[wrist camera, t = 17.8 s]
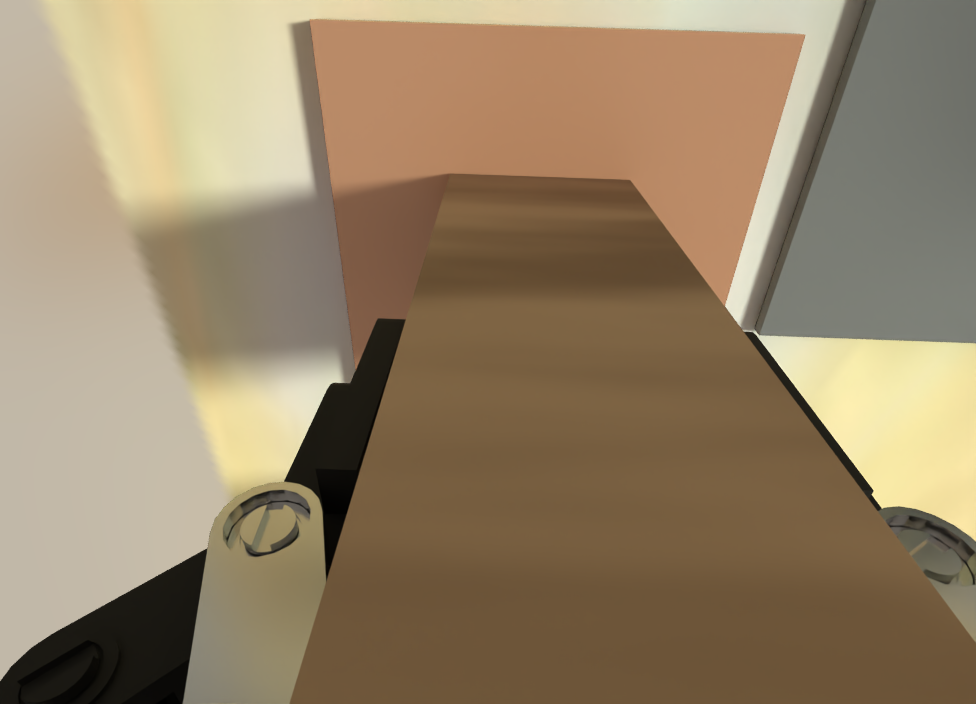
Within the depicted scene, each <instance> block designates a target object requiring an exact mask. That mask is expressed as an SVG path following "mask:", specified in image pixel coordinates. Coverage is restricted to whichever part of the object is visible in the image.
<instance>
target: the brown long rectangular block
mask: <svg viewBox="0 0 976 704" xmlns="http://www.w3.org/2000/svg"><path fill="white" fill-rule="evenodd" d="M289 704H976V642H975V641H974V640H973V638H972V637H971V636H970V634H969V633H968V632H967V630H966V629H965V628H964V626H963V625H962V624H961V622H960V621H959V620H958V618H957V617H956V615H955V614H954V613H953V611H952V610H951V609H950V607H949V606H948V605H947V603H946V602H945V601H944V599H943V598H942V597H941V595H940V594H939V593H938V591H937V590H936V589H935V587H934V586H933V585H932V583H931V582H930V581H929V579H928V578H927V577H926V575H925V574H924V573H923V571H922V570H921V569H920V567H919V566H918V565H917V563H916V562H915V561H914V559H913V558H912V557H911V555H910V554H909V553H908V551H907V550H906V549H905V547H904V546H903V545H902V543H901V542H900V541H899V539H898V538H897V536H896V535H895V534H894V532H893V531H892V530H891V528H890V527H889V526H888V524H887V523H886V522H885V520H884V519H883V518H882V516H881V515H880V514H879V512H878V511H877V510H876V508H875V507H874V506H873V504H872V503H871V502H870V500H869V499H868V498H867V496H866V495H865V494H864V492H863V491H862V490H861V488H860V487H859V486H858V484H857V483H856V482H855V480H854V479H853V478H852V476H851V475H850V474H849V472H848V471H847V470H846V468H845V467H844V466H843V464H842V463H841V461H840V460H839V459H838V457H837V456H836V455H835V453H834V452H833V451H832V449H831V448H830V447H829V445H828V444H827V443H826V441H825V440H824V439H823V437H822V436H821V435H820V433H819V432H818V431H817V429H816V428H815V427H814V425H813V424H812V423H811V421H810V420H809V419H808V417H807V416H806V415H805V413H804V412H803V411H802V409H801V408H800V407H799V405H798V404H797V403H796V401H795V400H794V399H793V397H792V396H791V395H790V393H789V392H788V391H787V389H786V388H785V387H784V385H783V384H782V382H781V381H780V380H779V378H778V377H777V376H776V374H775V373H774V372H773V370H772V369H771V368H770V366H769V365H768V364H767V362H766V361H765V360H764V358H763V357H762V356H761V354H760V353H759V352H758V350H757V349H756V348H755V346H754V345H753V344H752V342H751V341H750V340H749V338H748V337H747V336H746V334H745V333H744V332H743V330H742V329H741V328H740V326H739V325H738V324H737V322H736V321H735V320H734V318H733V317H732V316H731V314H730V313H729V312H728V310H727V309H726V307H725V306H724V305H723V303H722V302H721V301H720V299H719V298H718V297H717V295H716V294H715V293H714V291H713V290H712V289H711V287H710V286H709V285H708V283H707V282H706V281H705V279H704V278H703V277H702V275H701V274H700V273H699V271H698V270H697V269H696V267H695V266H694V265H693V263H692V262H691V261H690V259H689V258H688V257H687V255H686V254H685V253H684V251H683V250H682V249H681V247H680V246H679V245H678V243H677V242H676V241H675V239H674V238H673V237H672V235H671V234H670V233H669V231H668V230H667V228H666V227H665V226H664V224H663V223H662V222H661V220H660V219H659V218H658V216H657V215H656V214H655V212H654V211H653V210H652V208H651V207H650V206H649V204H648V203H647V202H646V200H645V199H644V198H643V196H642V195H641V194H640V192H639V191H638V190H637V188H636V187H635V186H634V184H633V183H632V182H631V180H621V179H593V178H564V177H535V176H507V175H478V174H450V176H449V179H448V182H447V186H446V189H445V192H444V196H443V199H442V202H441V205H440V209H439V212H438V215H437V219H436V222H435V225H434V229H433V232H432V235H431V238H430V242H429V245H428V248H427V252H426V255H425V258H424V262H423V265H422V268H421V271H420V275H419V278H418V281H417V285H416V288H415V291H414V294H413V298H412V301H411V304H410V308H409V311H408V314H407V318H406V321H405V324H404V327H403V331H402V334H401V337H400V341H399V344H398V347H397V350H396V354H395V357H394V360H393V364H392V367H391V370H390V374H389V377H388V380H387V383H386V387H385V390H384V393H383V397H382V400H381V403H380V407H379V410H378V413H377V416H376V420H375V423H374V426H373V430H372V433H371V436H370V439H369V443H368V446H367V449H366V453H365V456H364V459H363V463H362V466H361V469H360V472H359V476H358V479H357V482H356V486H355V489H354V492H353V495H352V499H351V502H350V505H349V509H348V512H347V515H346V519H345V522H344V525H343V528H342V532H341V535H340V538H339V542H338V545H337V548H336V552H335V555H334V558H333V561H332V565H331V568H330V571H329V575H328V578H327V581H326V584H325V588H324V591H323V594H322V598H321V601H320V604H319V608H318V611H317V614H316V617H315V621H314V624H313V627H312V631H311V634H310V637H309V641H308V644H307V647H306V650H305V654H304V657H303V660H302V664H301V667H300V670H299V673H298V677H297V680H296V683H295V687H294V690H293V693H292V697H291V700H290V703H289Z"/></svg>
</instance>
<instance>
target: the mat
mask: <svg viewBox="0 0 976 704" xmlns="http://www.w3.org/2000/svg"><path fill="white" fill-rule="evenodd" d="M755 330H756V332H757V333H758V334H759V335H767V336H794V337H822V338H849V339H876V340H904V341H931V342H958V343H976V0H867V1H866V4H865V7H864V10H863V13H862V16H861V18H860V21H859V24H858V27H857V30H856V33H855V36H854V39H853V42H852V45H851V48H850V51H849V54H848V57H847V60H846V62H845V65H844V68H843V71H842V74H841V77H840V80H839V83H838V86H837V89H836V92H835V95H834V98H833V101H832V104H831V106H830V109H829V112H828V115H827V118H826V121H825V124H824V127H823V130H822V133H821V136H820V139H819V142H818V145H817V148H816V150H815V153H814V156H813V159H812V162H811V165H810V168H809V171H808V174H807V177H806V180H805V183H804V186H803V189H802V192H801V194H800V197H799V200H798V203H797V206H796V209H795V212H794V215H793V218H792V221H791V224H790V227H789V230H788V233H787V236H786V238H785V241H784V244H783V247H782V250H781V253H780V256H779V259H778V262H777V265H776V268H775V271H774V274H773V277H772V279H771V282H770V285H769V288H768V291H767V294H766V297H765V300H764V303H763V306H762V309H761V312H760V315H759V318H758V321H757V323H756V326H755Z"/></svg>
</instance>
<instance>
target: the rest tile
mask: <svg viewBox="0 0 976 704" xmlns="http://www.w3.org/2000/svg"><path fill="white" fill-rule="evenodd" d="M310 27H311V34H312V42H313V50H314V57H315V65H316V72H317V80H318V88H319V95H320V103H321V110H322V118H323V126H324V133H325V141H326V148H327V156H328V164H329V171H330V179H331V186H332V194H333V202H334V209H335V217H336V224H337V232H338V240H339V247H340V255H341V262H342V270H343V278H344V285H345V293H346V300H347V308H348V316H349V323H350V331H351V338H352V346H353V354H354V361H355V369H357V366H358V364H359V361H360V359H361V357H362V354H363V352H364V349H365V347H366V344H367V342H368V340H369V337H370V335H371V332H372V330H373V328H374V325H375V323H376V321H377V319H378V318H385V319H406V318H407V314H408V311H409V308H410V304H411V301H412V298H413V294H414V291H415V288H416V285H417V281H418V278H419V275H420V271H421V268H422V265H423V262H424V258H425V255H426V252H427V248H428V245H429V242H430V238H431V235H432V232H433V229H434V225H435V222H436V219H437V215H438V212H439V209H440V205H441V202H442V199H443V196H444V192H445V189H446V186H447V182H448V179H449V176H450V174H478V175H507V176H535V177H564V178H593V179H621V180H631V182H632V183H633V184H634V186H635V187H636V188H637V190H638V191H639V192H640V194H641V195H642V196H643V198H644V199H645V200H646V202H647V203H648V204H649V206H650V207H651V208H652V210H653V211H654V212H655V214H656V215H657V216H658V218H659V219H660V220H661V222H662V223H663V224H664V226H665V227H666V228H667V230H668V231H669V233H670V234H671V235H672V237H673V238H674V239H675V241H676V242H677V243H678V245H679V246H680V247H681V249H682V250H683V251H684V253H685V254H686V255H687V257H688V258H689V259H690V261H691V262H692V263H693V265H694V266H695V267H696V269H697V270H698V271H699V273H700V274H701V275H702V277H703V278H704V279H705V281H706V282H707V283H708V285H709V286H710V287H711V289H712V290H713V291H714V293H715V294H716V295H717V297H718V298H719V299H720V301H721V302H722V303H723V305H724V306H725V303H726V300H727V297H728V293H729V290H730V287H731V283H732V280H733V277H734V273H735V270H736V267H737V263H738V260H739V257H740V253H741V250H742V246H743V243H744V240H745V236H746V233H747V230H748V226H749V223H750V220H751V216H752V213H753V210H754V206H755V203H756V199H757V196H758V193H759V189H760V186H761V183H762V179H763V176H764V173H765V169H766V166H767V163H768V159H769V156H770V152H771V149H772V146H773V142H774V139H775V136H776V132H777V129H778V126H779V122H780V119H781V116H782V112H783V109H784V106H785V102H786V99H787V95H788V92H789V89H790V85H791V82H792V79H793V75H794V72H795V69H796V65H797V62H798V59H799V55H800V52H801V48H802V45H803V42H804V38H805V35H804V34H790V33H757V32H725V31H692V30H659V29H626V28H594V27H561V26H528V25H496V24H463V23H430V22H397V21H365V20H332V19H310Z"/></svg>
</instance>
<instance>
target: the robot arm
mask: <svg viewBox="0 0 976 704" xmlns="http://www.w3.org/2000/svg"><path fill="white" fill-rule="evenodd" d="M405 321H406V319H385V318H378V319H377V321H376V323H375V325H374V328H373V330H372V332H371V335H370V337H369V340H368V342H367V344H366V347H365V349H364V352H363V354H362V357H361V359H360V361H359V364H358V366H357V369H356V371H355V373H354V376H353V378H352V381H351V383H350V384H349V383H333V384H331V385H330V386H329V388H328V389H327V391H326V393H325V395H324V397H323V400H322V402H321V404H320V406H319V408H318V410H317V412H316V415H315V417H314V419H313V421H312V423H311V425H310V427H309V429H308V432H307V434H306V436H305V438H304V440H303V442H302V444H301V447H300V449H299V451H298V453H297V455H296V457H295V459H294V462H293V464H292V466H291V468H290V470H289V472H288V474H287V476H286V479H285V481H284V482H277V483H268V484H265V485H261V486H258V487H254V488H252V489H250V490H248V491H246V492H244V493H242V494H240V495H239V496H237V497H236V498H235V499H233V500H232V501H231V502H230V503H228V504H227V505H226V506H225V507H224V508H223V509H222V511H221V512H220V513H219V515H218V516H217V517H216V519H215V521H214V524H213V526H212V529H211V532H210V536H209V543H208V548H207V549H205V550H203V551H201V552H200V553H198V554H196V555H194V556H192V557H191V558H189V559H187V560H185V561H183V562H182V563H180V564H178V565H176V566H174V567H173V568H171V569H169V570H167V571H165V572H164V573H162V574H160V575H158V576H156V577H155V578H153V579H151V580H149V581H147V582H145V583H144V584H142V585H140V586H138V587H136V588H134V589H133V590H131V591H129V592H127V593H126V594H124V595H122V596H120V597H118V598H117V599H115V600H113V601H111V602H109V603H107V604H106V605H104V606H102V607H100V608H98V609H96V610H95V611H93V612H91V613H89V614H87V615H86V616H84V617H82V618H80V619H78V620H77V621H75V622H73V623H71V624H70V625H68V626H66V627H64V628H62V629H60V630H58V631H57V632H55V633H53V634H51V635H50V636H49V637H47V638H46V639H44V640H42V641H41V642H39V643H38V644H36V645H35V646H34V647H32V648H31V649H30V650H29V651H27V652H26V653H25V654H24V655H23V656H22V657H21V658H20V659H19V660H18V661H17V662H16V663H15V664H13V665H12V666H11V668H10V669H9V670H8V672H7V673H6V674H5V676H4V677H3V679H2V680H1V681H0V704H289V703H290V700H291V697H292V693H293V690H294V687H295V683H296V680H297V677H298V673H299V670H300V667H301V664H302V660H303V657H304V654H305V650H306V647H307V644H308V641H309V637H310V634H311V631H312V627H313V624H314V621H315V617H316V614H317V611H318V608H319V604H320V601H321V598H322V594H323V591H324V588H325V584H326V581H327V578H328V575H329V571H330V568H331V565H332V561H333V558H334V555H335V552H336V548H337V545H338V542H339V538H340V535H341V532H342V528H343V525H344V522H345V519H346V515H347V512H348V509H349V505H350V502H351V499H352V495H353V492H354V489H355V486H356V482H357V479H358V476H359V472H360V469H361V466H362V463H363V459H364V456H365V453H366V449H367V446H368V443H369V439H370V436H371V433H372V430H373V426H374V423H375V420H376V416H377V413H378V410H379V407H380V403H381V400H382V397H383V393H384V390H385V387H386V383H387V380H388V377H389V374H390V370H391V367H392V364H393V360H394V357H395V354H396V350H397V347H398V344H399V341H400V337H401V334H402V331H403V327H404V324H405ZM744 333H745V334H746V336H747V337H748V338H749V340H750V341H751V342H752V344H753V345H754V346H755V348H756V349H757V350H758V352H759V353H760V354H761V356H762V357H763V358H764V360H765V361H766V362H767V364H768V365H769V366H770V368H771V369H772V370H773V372H774V373H775V374H776V376H777V377H778V378H779V380H780V381H781V382H782V384H783V385H784V387H785V388H786V389H787V391H788V392H789V393H790V395H791V396H792V397H793V399H794V400H795V401H796V403H797V404H798V405H799V407H800V408H801V409H802V411H803V412H804V413H805V415H806V416H807V417H808V419H809V420H810V421H811V423H812V424H813V425H814V427H815V428H816V429H817V431H818V432H819V433H820V435H821V436H822V437H823V439H824V440H825V441H826V443H827V444H828V445H829V447H830V448H831V449H832V451H833V452H834V453H835V455H836V456H837V457H838V459H839V460H840V461H841V463H842V464H843V466H844V467H845V468H846V470H847V471H848V472H849V474H850V475H851V476H852V478H853V479H854V480H855V482H856V483H857V484H858V486H859V487H860V488H861V490H862V491H863V492H864V494H865V495H866V496H867V498H868V499H869V500H870V502H871V503H872V504H873V506H874V507H875V508H876V510H877V511H878V512H879V514H880V515H881V516H882V518H883V519H884V520H885V522H886V523H887V524H888V526H889V527H890V528H891V530H892V531H893V532H894V534H895V535H896V536H897V538H898V539H899V541H900V542H901V543H902V545H903V546H904V547H905V549H906V550H907V551H908V553H909V554H910V555H911V557H912V558H913V559H914V561H915V562H916V563H917V565H918V566H919V567H920V569H921V570H922V571H923V573H924V574H925V575H926V577H927V578H928V579H929V581H930V582H931V583H932V585H933V586H934V587H935V589H936V590H937V591H938V593H939V594H940V595H941V597H942V598H943V599H944V601H945V602H946V603H947V605H948V606H949V607H950V609H951V610H952V611H953V613H954V614H955V615H956V617H957V618H958V620H959V621H960V622H961V624H962V625H963V626H964V628H965V629H966V630H967V632H968V633H969V634H970V636H971V637H972V638H973V640H974V641H975V642H976V542H975V541H974V540H973V539H972V538H971V537H970V536H968V535H967V534H966V533H964V532H963V531H961V530H960V529H958V528H957V527H955V526H954V525H952V524H950V523H948V522H946V521H944V520H942V519H940V518H938V517H937V516H935V515H932V514H929V513H926V512H923V511H920V510H917V509H912V508H905V507H887V508H883V509H882V508H881V507H880V506H879V504H878V503H877V501H876V500H875V499H874V497H873V496H872V495H871V494H872V493H873V489H872V488H871V487H870V485H869V484H868V483H867V481H866V480H865V479H864V477H863V476H862V475H861V473H860V472H859V471H858V469H857V468H856V467H855V465H854V464H853V463H852V461H851V460H850V459H849V458H848V456H847V455H846V454H845V452H844V451H843V450H842V448H841V447H840V446H839V444H838V443H837V442H836V440H835V439H834V438H833V436H832V435H831V434H830V432H829V431H828V430H827V428H826V427H825V426H824V424H823V423H822V422H821V420H820V419H819V418H818V417H817V415H816V414H815V413H814V411H813V410H812V409H811V407H810V406H809V405H808V403H807V402H806V401H805V399H804V398H803V397H802V395H801V394H800V393H799V391H798V390H797V389H796V387H795V386H794V385H793V383H792V382H791V381H790V379H789V378H788V377H787V376H786V374H785V373H784V372H783V370H782V369H781V368H780V366H779V365H778V364H777V362H776V361H775V360H774V358H773V357H772V356H771V354H770V353H769V352H768V350H767V349H766V348H765V346H764V345H763V344H762V342H761V341H760V340H759V338H758V337H757V336H756V335H755V334H754V333H753V332H744Z"/></svg>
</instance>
